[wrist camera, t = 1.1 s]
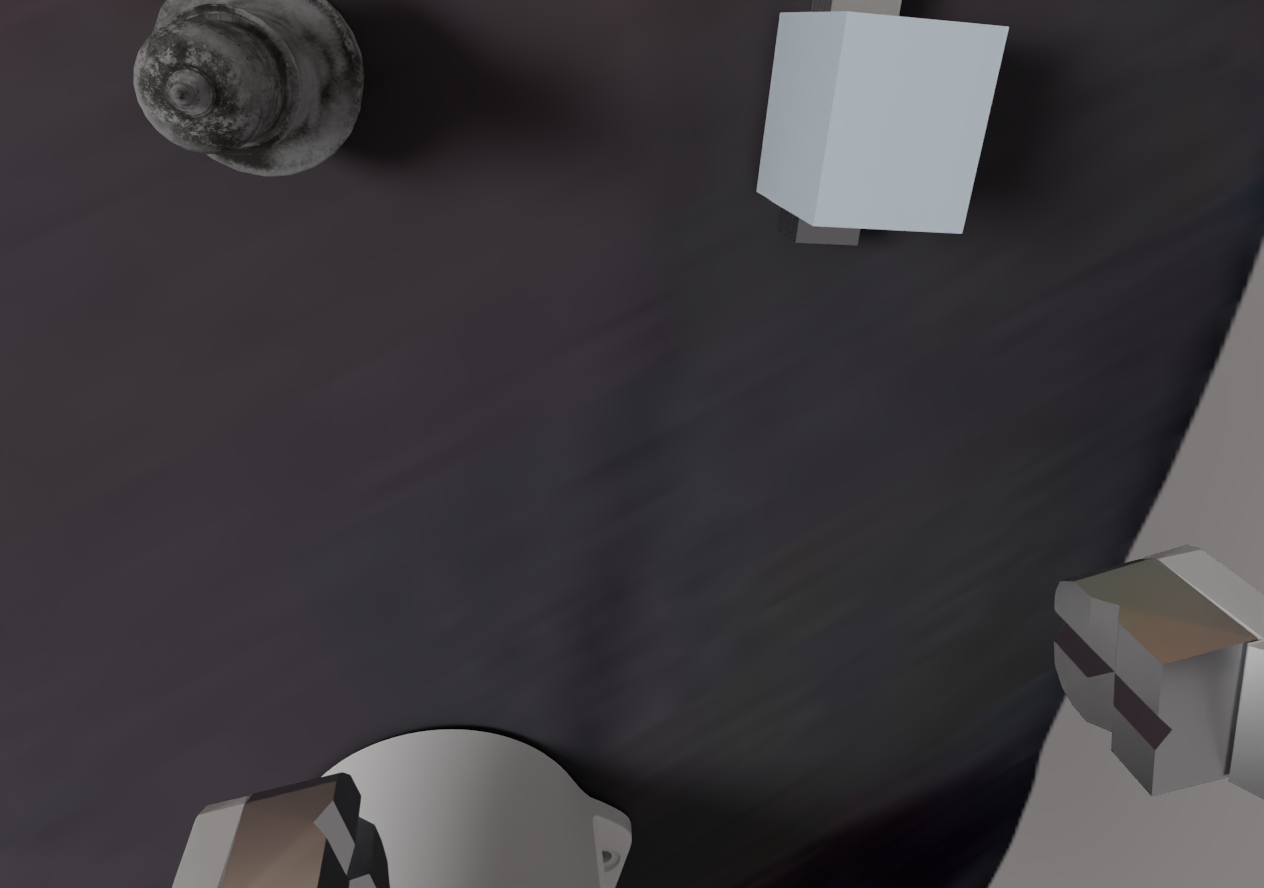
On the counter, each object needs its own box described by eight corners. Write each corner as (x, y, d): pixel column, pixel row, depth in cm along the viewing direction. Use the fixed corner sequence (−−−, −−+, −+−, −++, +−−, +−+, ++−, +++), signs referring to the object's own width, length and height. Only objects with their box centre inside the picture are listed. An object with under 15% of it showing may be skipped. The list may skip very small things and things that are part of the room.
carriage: (881, 198, 35) (962, 233, 29) (755, 191, 34) (813, 226, 28) (913, 25, 32) (1009, 26, 27) (778, 12, 31) (847, 11, 26)
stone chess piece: (344, -48, 29) (272, -86, 18) (394, 144, 32) (356, 208, 21) (156, -17, 28) (-32, -38, 18) (221, 175, 31) (92, 258, 20)
